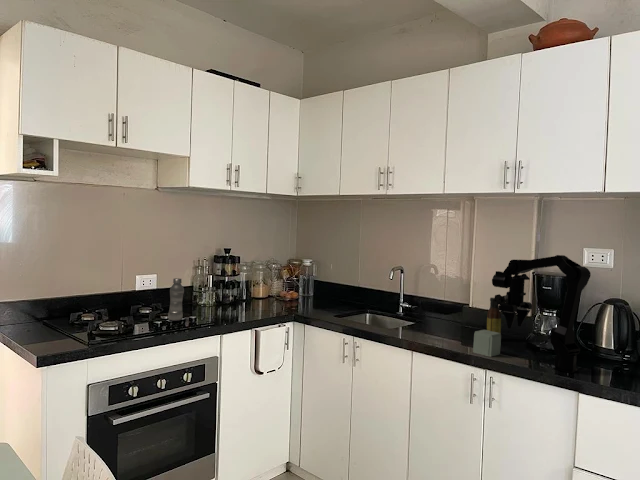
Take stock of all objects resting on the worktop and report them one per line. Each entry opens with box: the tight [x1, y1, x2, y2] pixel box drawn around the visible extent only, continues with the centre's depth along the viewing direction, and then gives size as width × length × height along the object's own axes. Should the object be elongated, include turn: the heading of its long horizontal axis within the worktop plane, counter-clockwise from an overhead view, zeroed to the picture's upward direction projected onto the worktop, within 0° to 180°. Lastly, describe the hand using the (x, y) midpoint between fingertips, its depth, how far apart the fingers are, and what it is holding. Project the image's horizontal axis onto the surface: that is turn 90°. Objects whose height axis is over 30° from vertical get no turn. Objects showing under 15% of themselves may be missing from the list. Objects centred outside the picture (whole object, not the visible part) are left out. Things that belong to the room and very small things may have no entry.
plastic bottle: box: [167, 277, 185, 322], centre depth 234 cm, size 6×7×20 cm
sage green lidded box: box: [472, 329, 502, 357], centre depth 206 cm, size 8×8×9 cm
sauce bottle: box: [486, 297, 502, 333], centre depth 233 cm, size 6×6×20 cm
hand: (514, 327), depth 205 cm, fingers open, 9 cm apart
